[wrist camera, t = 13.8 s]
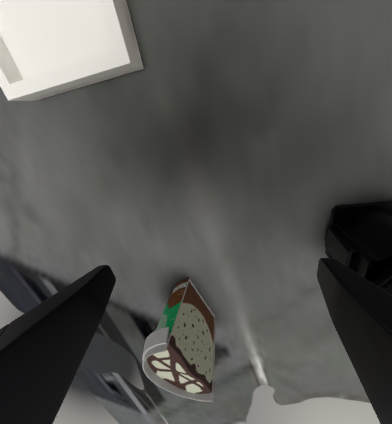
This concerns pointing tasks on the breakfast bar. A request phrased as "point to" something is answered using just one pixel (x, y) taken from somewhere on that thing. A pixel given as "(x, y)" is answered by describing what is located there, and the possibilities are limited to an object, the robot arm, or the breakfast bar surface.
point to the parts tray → (63, 45)
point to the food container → (183, 346)
